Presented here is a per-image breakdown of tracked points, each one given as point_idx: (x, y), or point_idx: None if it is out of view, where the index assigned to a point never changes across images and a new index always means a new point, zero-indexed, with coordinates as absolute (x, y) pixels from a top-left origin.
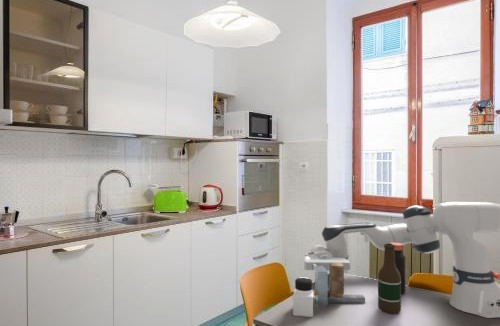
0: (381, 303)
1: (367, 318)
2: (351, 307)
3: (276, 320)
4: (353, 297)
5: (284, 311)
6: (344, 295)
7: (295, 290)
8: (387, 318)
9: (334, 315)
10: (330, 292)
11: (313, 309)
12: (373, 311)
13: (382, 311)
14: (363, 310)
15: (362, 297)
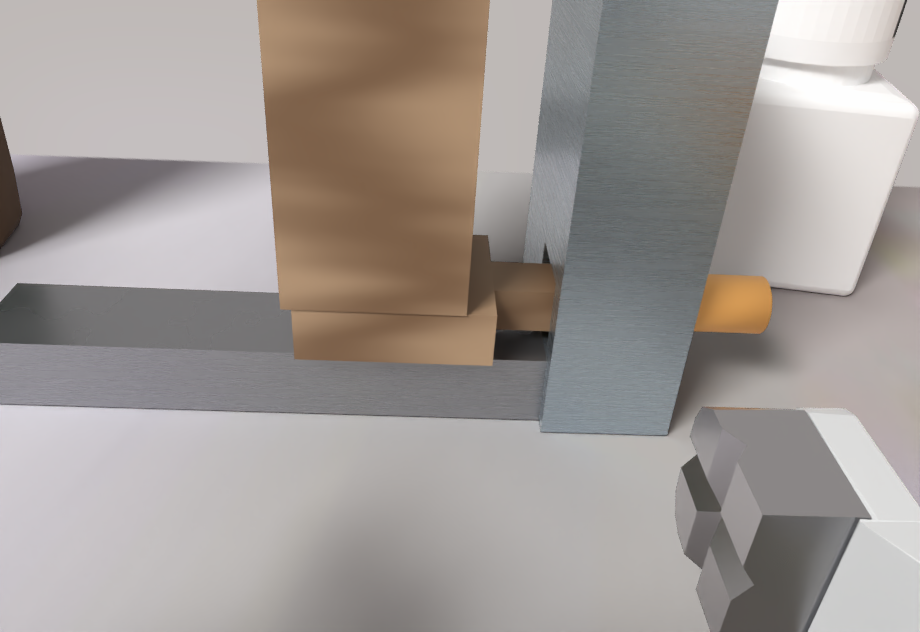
0: (4, 150)
1: (232, 181)
2: (267, 283)
3: (901, 192)
4: (168, 291)
5: (909, 258)
6: (259, 332)
7: (885, 82)
8: (71, 175)
9: (481, 211)
10: (474, 252)
11: None
12: (95, 234)
13: (19, 216)
14: (179, 246)
15: (45, 288)
